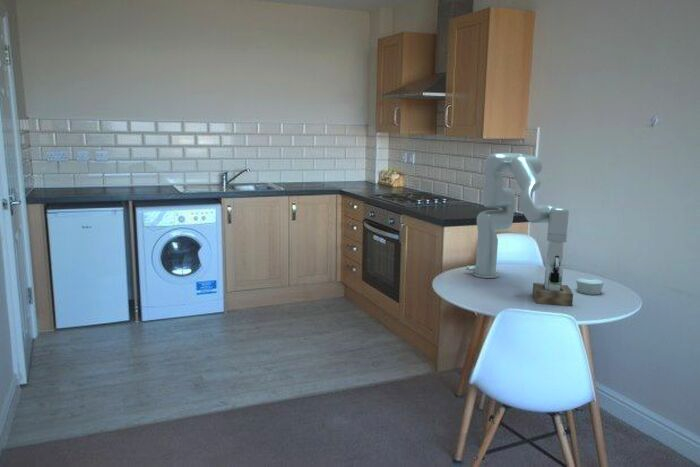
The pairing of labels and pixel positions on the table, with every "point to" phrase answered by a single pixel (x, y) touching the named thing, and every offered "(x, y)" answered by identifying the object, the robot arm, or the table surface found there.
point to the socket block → (552, 295)
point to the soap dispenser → (547, 283)
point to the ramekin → (589, 286)
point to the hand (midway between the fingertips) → (553, 279)
